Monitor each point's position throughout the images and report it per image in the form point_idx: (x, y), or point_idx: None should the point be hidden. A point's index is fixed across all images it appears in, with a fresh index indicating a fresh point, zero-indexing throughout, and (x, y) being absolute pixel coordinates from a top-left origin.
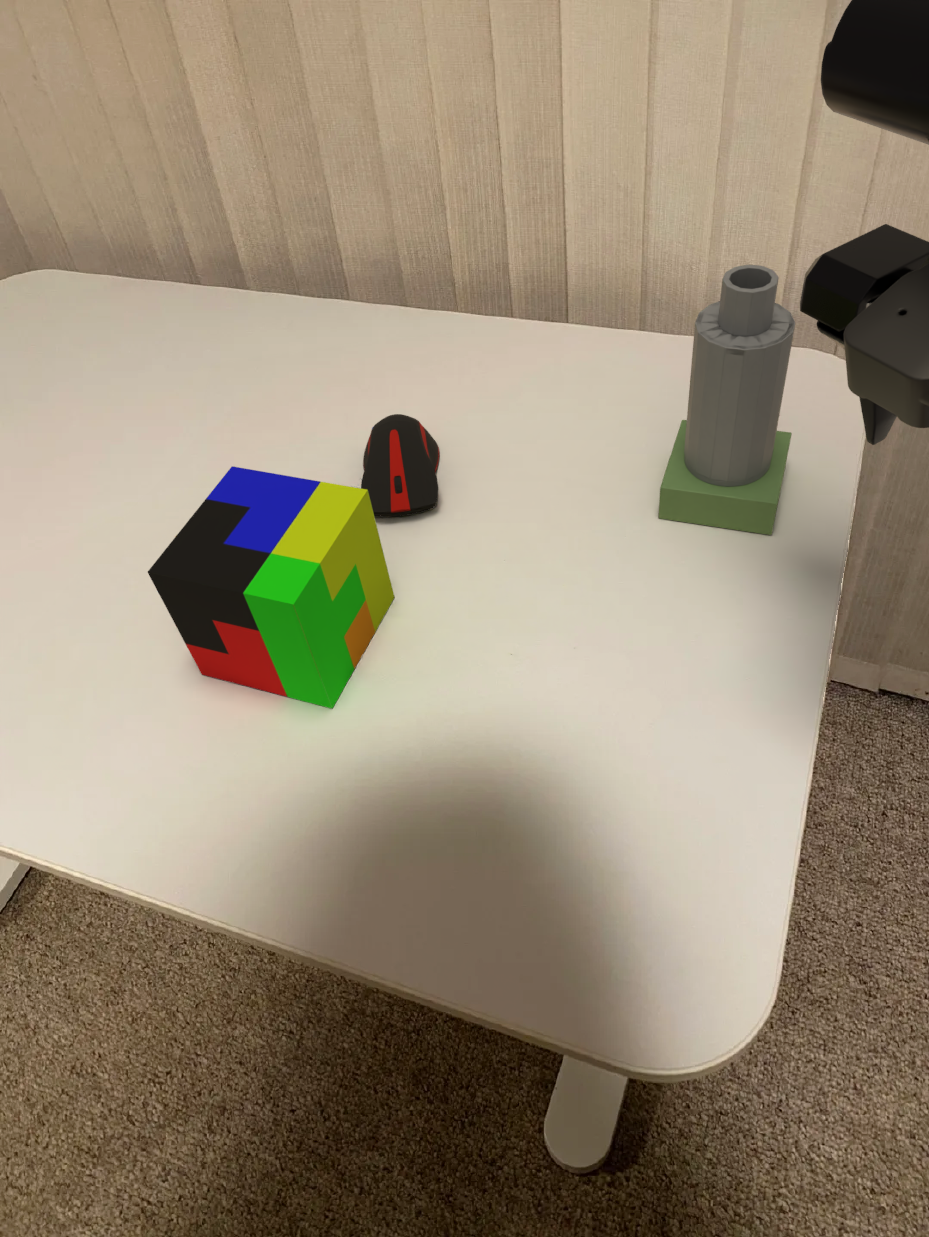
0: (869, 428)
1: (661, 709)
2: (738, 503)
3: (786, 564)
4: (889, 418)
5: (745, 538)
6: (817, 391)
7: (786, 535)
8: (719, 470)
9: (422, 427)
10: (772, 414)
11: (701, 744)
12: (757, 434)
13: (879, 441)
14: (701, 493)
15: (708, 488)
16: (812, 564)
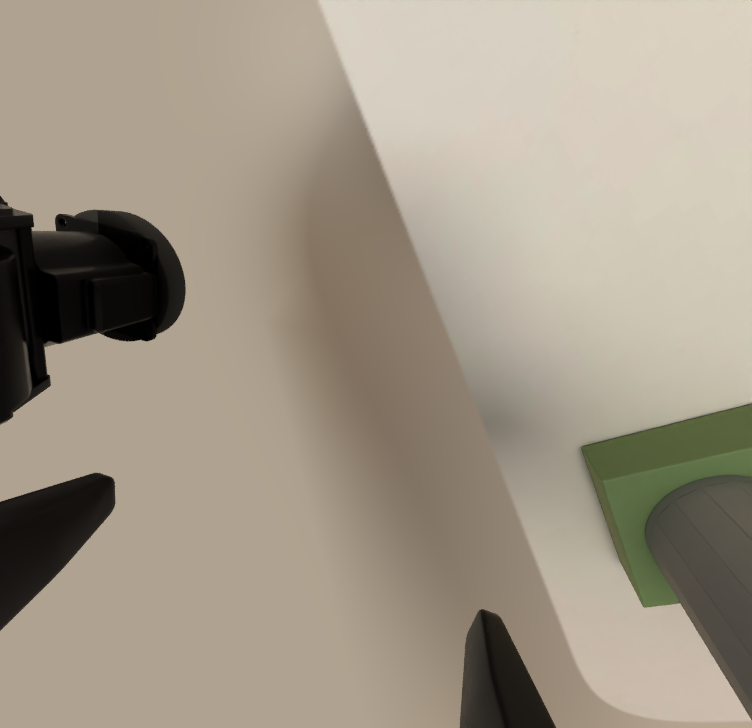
0: (506, 661)
1: (575, 70)
2: (658, 461)
3: (540, 412)
4: (471, 708)
5: (611, 427)
6: (636, 676)
7: (562, 455)
8: (733, 497)
9: None
10: (726, 632)
11: (492, 60)
12: (723, 581)
13: (473, 624)
14: (731, 451)
15: (724, 465)
16: (511, 428)
